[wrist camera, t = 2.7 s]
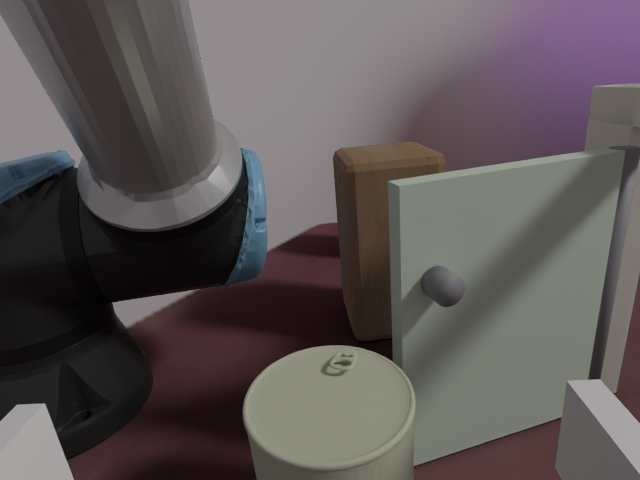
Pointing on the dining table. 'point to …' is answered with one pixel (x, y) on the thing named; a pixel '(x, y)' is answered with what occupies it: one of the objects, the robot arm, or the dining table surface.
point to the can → (331, 417)
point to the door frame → (630, 130)
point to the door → (504, 289)
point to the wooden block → (372, 226)
